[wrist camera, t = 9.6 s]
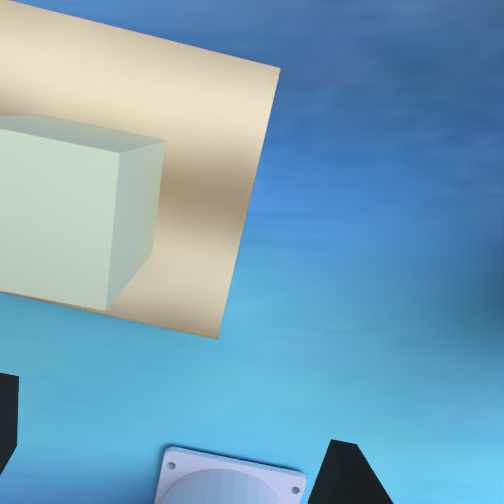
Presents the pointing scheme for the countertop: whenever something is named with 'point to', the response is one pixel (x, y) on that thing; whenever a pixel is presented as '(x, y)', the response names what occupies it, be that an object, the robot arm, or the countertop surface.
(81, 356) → the countertop surface
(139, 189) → the sage block
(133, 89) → the birch slab
